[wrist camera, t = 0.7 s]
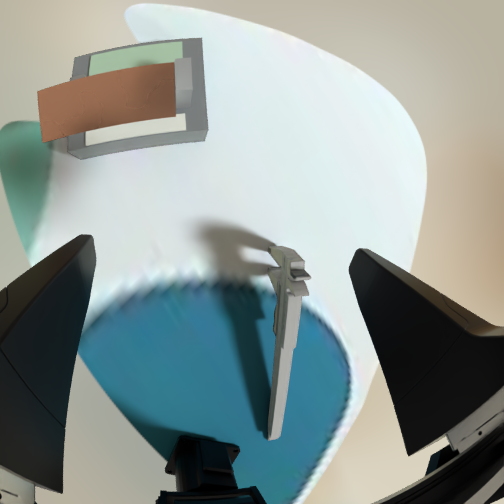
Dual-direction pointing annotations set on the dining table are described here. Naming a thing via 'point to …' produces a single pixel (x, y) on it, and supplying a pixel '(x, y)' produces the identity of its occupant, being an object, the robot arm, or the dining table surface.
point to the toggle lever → (107, 100)
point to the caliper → (284, 327)
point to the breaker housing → (157, 130)
